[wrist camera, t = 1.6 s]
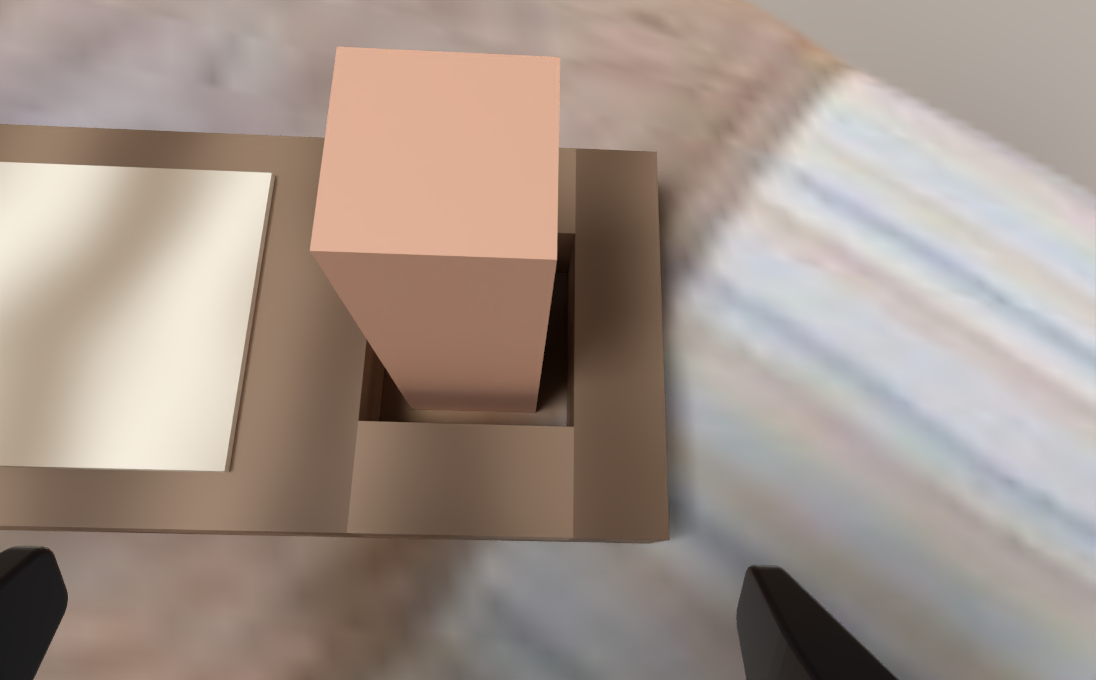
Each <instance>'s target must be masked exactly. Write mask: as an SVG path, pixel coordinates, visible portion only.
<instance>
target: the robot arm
mask: <svg viewBox="0 0 1096 680" xmlns="http://www.w3.org/2000/svg"><path fill="white" fill-rule="evenodd" d="M67 602H68V593H67V589H66V586H65V584H64V581H63V578H62V575H61V572H60V570H59V567H58V564H57V561H56V558H55V556H54V554H53V552H52V551H51V550H50V549H49V548H46V547H42V546H15V547H11V548H8V549H6V550H4V551H3V552H1V553H0V680H33V679H34V677H35V675H36V673H37V671H38V669H39V667H40V664H41V662H42V660H43V658H44V656H45V654H46V652H47V650H48V647H49V645H50V643H51V641H52V639H53V637H54V635H55V633H56V630H57V628H58V626H59V624H60V622H61V620H62V618H63V616H64V613H65V611H66V607H67ZM736 620H737V629H738V635H739V641H740V646H741V652H742V657H743V663H744V668H745V674H746V680H899V679H898V678H897V677H896V676H895V675H894V674H893V673H892V672H891V671H889V670H888V669H887V668H886V667H885V666H884V665H883V664H882V663H881V662H880V661H879V660H878V659H877V658H876V657H875V656H874V655H873V654H872V653H871V652H870V651H869V650H868V649H867V648H865V647H864V646H863V645H862V644H861V643H860V642H859V641H858V640H857V639H856V638H855V637H854V636H853V635H852V634H851V633H850V632H849V631H848V630H847V629H846V628H845V627H844V626H843V625H841V624H840V623H839V622H838V621H837V620H836V619H835V618H834V617H833V616H832V615H831V614H830V613H829V612H828V611H827V610H826V609H825V608H824V607H823V606H822V605H821V604H820V603H819V602H818V601H816V600H815V599H814V598H813V597H812V596H811V595H810V594H809V593H808V592H807V591H806V590H805V589H804V588H803V587H802V586H801V585H800V584H799V583H798V582H797V581H796V580H795V579H794V578H792V577H791V576H790V575H789V574H788V573H787V572H786V571H785V570H784V569H783V568H781V567H779V566H771V565H752V566H750V567H749V568H748V569H747V571H746V574H745V578H744V582H743V586H742V590H741V594H740V598H739V602H738V607H737V614H736Z"/></svg>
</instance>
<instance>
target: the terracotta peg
mask: <svg viewBox="0 0 1096 680" xmlns="http://www.w3.org/2000/svg"><path fill="white" fill-rule="evenodd" d="M559 102H560V57H543V56H522V55H501V54H480V53H459V52H437V51H416V50H395V49H374V48H353V47H337V51H336V59H335V66H334V73H333V81H332V88H331V96H330V103H329V111H328V118H327V126H326V133H325V141H324V148H323V155H322V163H321V170H320V178H319V185H318V193H317V200H316V208H315V215H314V223H313V230H312V238H311V245H310V252H311V254H312V255H313V257H314V258H315V260H316V261H317V263H318V264H319V266H320V267H321V269H322V271H323V272H324V274H325V275H326V277H327V278H328V280H329V281H330V283H331V285H332V286H333V288H334V289H335V291H336V292H337V294H338V295H339V297H340V299H341V300H342V302H343V303H344V305H345V306H346V308H347V309H348V311H349V313H350V314H351V316H352V317H353V319H354V320H355V322H356V323H357V325H358V326H359V328H360V330H361V331H362V333H363V334H364V336H365V337H366V339H367V340H368V342H369V344H370V345H371V347H372V348H373V350H374V351H375V353H376V354H377V356H378V358H379V359H380V361H381V362H382V364H383V365H384V367H385V368H386V370H387V371H388V373H389V375H390V376H391V378H392V379H393V381H394V382H395V384H396V385H397V387H398V389H399V390H400V392H401V393H402V395H403V396H404V398H405V399H406V401H407V403H408V404H409V406H410V407H411V409H424V410H459V411H495V412H531V413H536V405H537V398H538V391H539V384H540V377H541V370H542V363H543V356H544V348H545V341H546V334H547V327H548V320H549V313H550V306H551V299H552V292H553V284H554V277H555V270H556V263H557V227H558V164H559Z"/></svg>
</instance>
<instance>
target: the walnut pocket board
mask: <svg viewBox="0 0 1096 680" xmlns="http://www.w3.org/2000/svg"><path fill="white" fill-rule="evenodd" d="M324 141H325V138H317V137H293V136H269V135H246V134H222V133H199V132H175V131H152V130H128V129H104V128H81V127H57V126H34V125H10V124H0V530H34V531H82V532H130V533H177V534H225V535H273V536H321V537H368V538H416V539H464V540H512V541H559V542H607V543H654V542H660V541H665V540H670V539H669V509H668V479H667V449H666V418H665V388H664V358H663V328H662V298H661V268H660V237H659V207H658V177H657V152H647V151H623V150H599V149H576V148H559V164H558V227H557V263H556V270H555V272H568V335H567V427H562V426H525V425H488V424H452V423H415V422H380V412H381V402H382V391H383V380H384V369H385V367H384V365H383V364H382V362H381V361H380V359H379V358H378V356H377V354H376V353H375V351H374V350H373V348H372V347H371V345H370V344H369V342H368V340H367V339H366V337H365V336H364V334H363V333H362V331H361V330H360V328H359V326H358V325H357V323H356V322H355V320H354V319H353V317H352V316H351V314H350V313H349V311H348V309H347V308H346V306H345V305H344V303H343V302H342V300H341V299H340V297H339V295H338V294H337V292H336V291H335V289H334V288H333V286H332V285H331V283H330V281H329V280H328V278H327V277H326V275H325V274H324V272H323V271H322V269H321V267H320V266H319V264H318V263H317V261H316V260H315V258H314V257H313V255H312V254H311V252H310V245H311V238H312V230H313V223H314V215H315V208H316V200H317V193H318V185H319V178H320V170H321V163H322V155H323V148H324Z"/></svg>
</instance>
